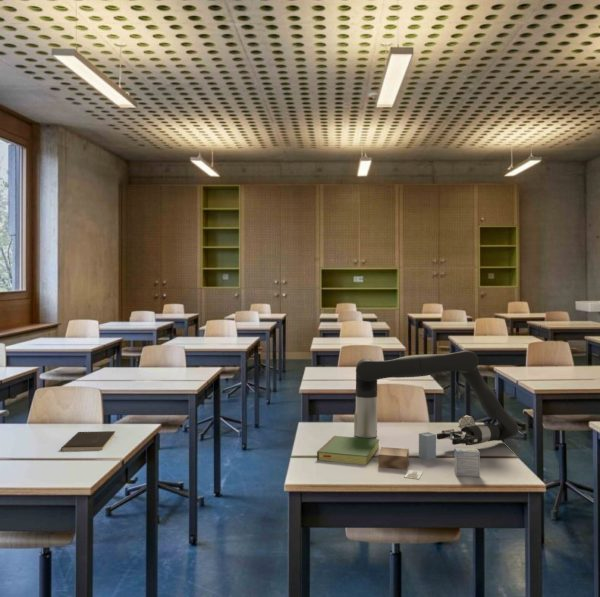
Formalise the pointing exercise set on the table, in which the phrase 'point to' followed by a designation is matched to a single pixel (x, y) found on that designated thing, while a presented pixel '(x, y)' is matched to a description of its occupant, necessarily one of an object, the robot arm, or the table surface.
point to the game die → (466, 421)
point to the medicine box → (467, 462)
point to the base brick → (393, 458)
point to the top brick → (427, 446)
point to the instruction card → (413, 474)
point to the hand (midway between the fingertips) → (445, 439)
